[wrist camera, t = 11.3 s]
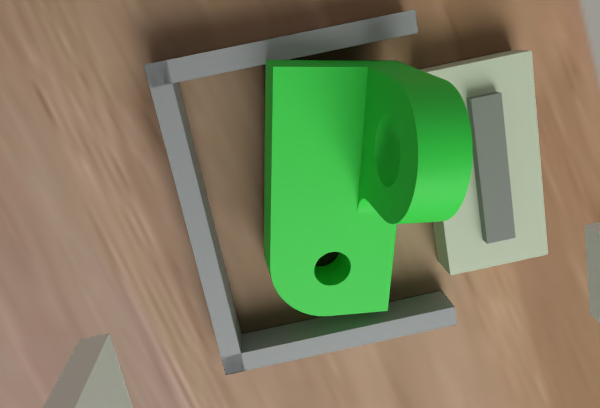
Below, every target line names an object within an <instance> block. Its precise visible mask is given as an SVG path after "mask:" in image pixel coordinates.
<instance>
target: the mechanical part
mask: <svg viewBox="0 0 600 408" xmlns="http://www.w3.org/2000/svg"><path fill="white" fill-rule="evenodd" d="M472 159H473V146H472V133H471V126H470V121H469V116H468V113H467V109H466V106H465V103H464V101H463V99H462V97H461V95H460V93H459V92H458V90H457V89H456V88H455V86H454V85H453V84H451V83H450V82H449V81H447V80H444V79H442V78H439V77H437V76H434V75H432V74H429V73H427V72H424V71H421V70H419V69H416V68H414V67H411V66H409V65H406V64H404V63H401V62H399V61H380V60H266V80H265V173H264V256H265V260H266V264H267V267H268V270H269V273H270V276H271V279H272V282H273V284H274V287H275V289H276V291H277V292H278V294H279V295H280V297H281V298H282V299H283V300H284V301H285V302H286V303H287V304H288V305H290V306H291V307H293V308H294V309H296V310H298V311H300V312H303V313H306V314H309V315H315V316H335V315H347V314H358V313H369V312H381V311H388V304H389V294H390V284H391V275H392V265H393V255H394V246H395V236H396V227H397V224H405V223H423V222H441V221H446V220H449V219H450V218H452V217H453V216H454V215H455V214H456V213H457V211H458V210H459V208H460V207H461V205H462V203H463V201H464V198H465V196H466V193H467V190H468V186H469V182H470V177H471V171H472ZM330 252H339V254H338V256H337V258H336V259H335V260H334V261H333V262H332V263H330V264H328V265H325V266H315V264H316V262H317V261H318V260H319V258H320V257H322V256H323V255H325V254H327V253H330Z"/></svg>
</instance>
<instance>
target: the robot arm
mask: <svg viewBox="0 0 600 408" xmlns="http://www.w3.org/2000/svg"><path fill="white" fill-rule="evenodd" d="M585 242H586V258H587V274H588V291H589V307H590V315H591V316H592V317H593V318H595V319H596V320H597V321H598V322H600V222H598V223H593V224H589V225H585ZM43 408H133V406H132V403H131V400H130V397H129V394H128V391H127V387H126V384H125V381H124V378H123V375H122V372H121V369H120V366H119V363H118V360H117V356H116V353H115V350H114V347H113V344H112V341H111V338H110V335H109V333H108V334H103V335H99V336H94V337H90V338H85V339H81V340H80V341H79V342H78V344H77V346H76V348H75V350H74V352H73V353H72V355H71V357H70V359H69V361H68V363H67V364H66V366H65V368H64V370H63V372H62V374H61V375H60V377H59V379H58V381H57V383H56V385H55V386H54V388H53V390H52V392H51V394H50V396H49V397H48V399H47V401H46V403H45V405H44V407H43Z"/></svg>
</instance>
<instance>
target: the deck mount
mask: <svg viewBox="0 0 600 408" xmlns="http://www.w3.org/2000/svg"><path fill="white" fill-rule="evenodd" d="M415 33H418V28H417V20H416V13H415V9H414V10H409V11H405V12H400V13H395V14H390V15H385V16H380V17H375V18H370V19H365V20H361V21H356V22H351V23H346V24H341V25H336V26H331V27H326V28H321V29H316V30H312V31H307V32H302V33H297V34H292V35H287V36H282V37H277V38H272V39H268V40H263V41H258V42H253V43H248V44H243V45H238V46H233V47H228V48H224V49H219V50H214V51H209V52H204V53H199V54H194V55H189V56H184V57H180V58H175V59H170V60H165V61H160V62H155V63H150V64H145V65H144V68H145V72H146V76H147V80H148V83H149V87H150V91H151V95H152V98H153V102H154V106H155V110H156V114H157V117H158V121H159V125H160V129H161V132H162V136H163V140H164V144H165V147H166V151H167V155H168V159H169V163H170V166H171V170H172V174H173V178H174V181H175V185H176V189H177V193H178V196H179V200H180V204H181V208H182V212H183V215H184V219H185V223H186V227H187V230H188V234H189V238H190V242H191V245H192V249H193V253H194V257H195V261H196V264H197V268H198V272H199V276H200V279H201V283H202V287H203V291H204V295H205V298H206V302H207V306H208V310H209V313H210V317H211V321H212V325H213V328H214V332H215V336H216V340H217V344H218V347H219V351H220V355H221V359H222V362H223V366H224V370H225V374H226V375H228V374H233V373H237V372H242V371H246V370H251V369H256V368H260V367H265V366H269V365H274V364H278V363H283V362H288V361H292V360H297V359H301V358H306V357H310V356H315V355H320V354H324V353H329V352H333V351H338V350H343V349H347V348H352V347H356V346H361V345H365V344H370V343H375V342H379V341H384V340H388V339H393V338H397V337H402V336H407V335H411V334H416V333H420V332H425V331H429V330H434V329H439V328H443V327H448V326H452V325H457V320H456V313H455V307H454V305H453V304H452V303H451V301H450V300H449V299H448V298H447V296H446V295H445V294H444V292H443V291H439V292H434V293H429V294H425V295H420V296H415V297H411V298H406V299H402V300H397V301H392V302H389V304H388V311H381V312H369V313H358V314H347V315H335V316H323V317H319V318H314V319H310V320H305V321H300V322H296V323H291V324H286V325H282V326H277V327H273V328H268V329H263V330H259V331H254V332H250V333H245V334H241V330H240V326H239V322H238V318H237V314H236V310H235V306H234V302H233V298H232V294H231V290H230V286H229V282H228V278H227V274H226V270H225V266H224V262H223V258H222V254H221V250H220V246H219V242H218V238H217V234H216V230H215V226H214V222H213V218H212V214H211V210H210V206H209V202H208V198H207V194H206V190H205V186H204V182H203V178H202V174H201V170H200V166H199V162H198V158H197V154H196V150H195V146H194V142H193V138H192V134H191V130H190V126H189V122H188V118H187V114H186V110H185V106H184V102H183V98H182V94H181V90H180V86H179V82H182V81H186V80H191V79H196V78H201V77H206V76H211V75H216V74H221V73H225V72H230V71H235V70H240V69H245V68H250V67H255V66H259V65H264V64H266V60H289V59H294V58H298V57H303V56H308V55H313V54H318V53H323V52H328V51H332V50H337V49H342V48H347V47H352V46H357V45H362V44H366V43H371V42H376V41H381V40H386V39H391V38H396V37H401V36H405V35H410V34H415ZM419 70H421V71H424V72H427V73H429V74H432V75H434V76H437V77H439V78H442V79H444V80H447V81H449V82H450V83H451V84H453V85H454V86H455V88H456V89H457V90H458V92H459V93H460V95H461V97H462V99H463V101H464V103H465V106H466V109H467V113H468V116H469V121H470V126H471V133H472V146H473V159H472V171H471V177H470V182H469V186H468V190H467V193H466V196H465V198H464V201H463V203H462V205H461V207H460V208H459V210H458V211H457V213H456V214H455V215H454V216H453V217H452V218H450V219H449V220H446V221H441V222H433V229H434V236H435V243H436V250H437V257H438V262H439V263H440V264H441V265H442V266H443V267H444V268H445V270H446V271H447V272H448V273H449V274H450V275H455V274H459V273H464V272H469V271H473V270H478V269H482V268H487V267H492V266H496V265H501V264H506V263H510V262H515V261H519V260H524V259H529V258H533V257H538V256H542V255H547V254H548V247H547V235H546V223H545V210H544V198H543V186H542V174H541V161H540V149H539V137H538V124H537V112H536V100H535V87H534V75H533V63H532V50H511V51H506V52H501V53H496V54H491V55H487V56H482V57H477V58H472V59H467V60H463V61H458V62H453V63H448V64H443V65H438V66H434V67H429V68H424V69H419Z"/></svg>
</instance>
